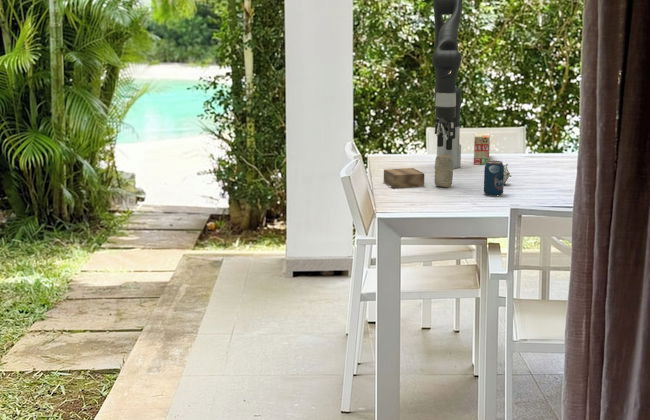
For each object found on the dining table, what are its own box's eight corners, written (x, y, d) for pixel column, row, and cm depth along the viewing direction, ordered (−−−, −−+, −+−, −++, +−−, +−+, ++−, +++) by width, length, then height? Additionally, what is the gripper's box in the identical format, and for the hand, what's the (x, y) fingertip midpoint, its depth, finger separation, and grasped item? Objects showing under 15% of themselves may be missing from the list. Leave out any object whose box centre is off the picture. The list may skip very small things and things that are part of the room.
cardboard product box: (475, 156, 428) (476, 128, 425) (489, 156, 427) (490, 129, 424) (473, 165, 408) (474, 136, 405) (488, 165, 406) (489, 136, 404)
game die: (502, 193, 369) (518, 172, 368) (499, 189, 361) (515, 168, 360) (483, 180, 372) (499, 159, 371) (480, 176, 364) (496, 154, 363)
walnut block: (412, 180, 375) (413, 167, 373) (424, 186, 363) (424, 173, 362) (383, 182, 371) (383, 169, 370) (394, 188, 360) (394, 175, 359)
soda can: (498, 197, 345) (499, 164, 342) (480, 195, 348) (481, 162, 346) (505, 193, 350) (507, 161, 348) (488, 191, 354) (489, 159, 351)
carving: (456, 186, 364) (457, 155, 361) (444, 189, 358) (445, 157, 356) (442, 184, 368) (443, 153, 365) (430, 187, 363) (431, 155, 360)
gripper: (462, 106, 351) (461, 150, 354) (447, 102, 364) (446, 145, 367) (443, 107, 349) (442, 151, 352) (429, 103, 362) (428, 145, 365)
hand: (444, 148), depth 360 cm, fingers open, 8 cm apart
